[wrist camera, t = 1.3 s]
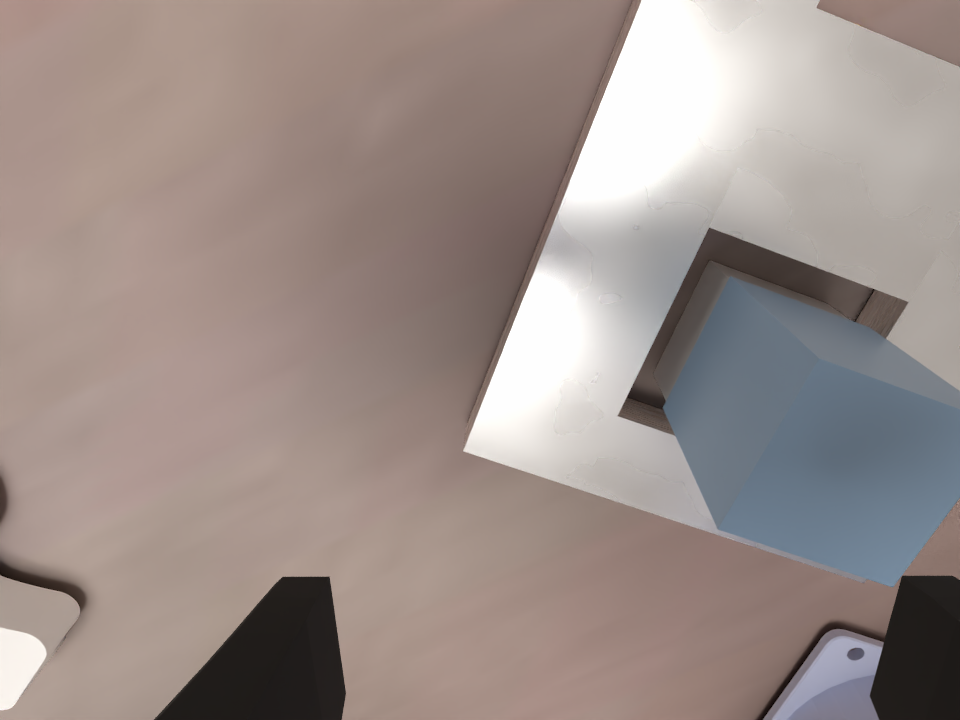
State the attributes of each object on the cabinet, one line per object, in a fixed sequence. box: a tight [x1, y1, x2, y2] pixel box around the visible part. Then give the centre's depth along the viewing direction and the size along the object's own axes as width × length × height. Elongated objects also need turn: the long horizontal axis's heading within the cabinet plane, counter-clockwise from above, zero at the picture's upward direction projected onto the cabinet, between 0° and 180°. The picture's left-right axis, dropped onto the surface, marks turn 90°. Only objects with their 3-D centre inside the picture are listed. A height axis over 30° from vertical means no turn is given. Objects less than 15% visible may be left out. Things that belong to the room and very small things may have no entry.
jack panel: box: [463, 0, 960, 583], centre depth 16 cm, size 12×20×2 cm, turn 161°
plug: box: [653, 260, 960, 587], centre depth 15 cm, size 4×4×7 cm
